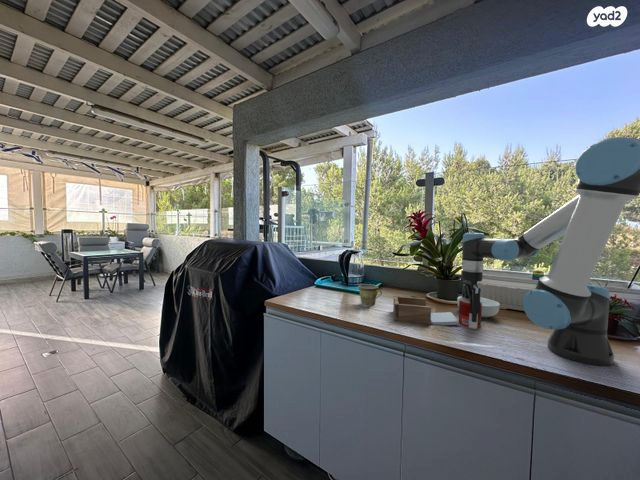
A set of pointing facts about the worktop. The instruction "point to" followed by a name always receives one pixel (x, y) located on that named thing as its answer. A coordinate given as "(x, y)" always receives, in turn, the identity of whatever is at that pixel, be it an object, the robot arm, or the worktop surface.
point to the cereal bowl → (487, 307)
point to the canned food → (467, 312)
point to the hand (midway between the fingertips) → (469, 325)
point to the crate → (411, 310)
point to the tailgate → (444, 319)
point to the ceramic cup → (368, 294)
